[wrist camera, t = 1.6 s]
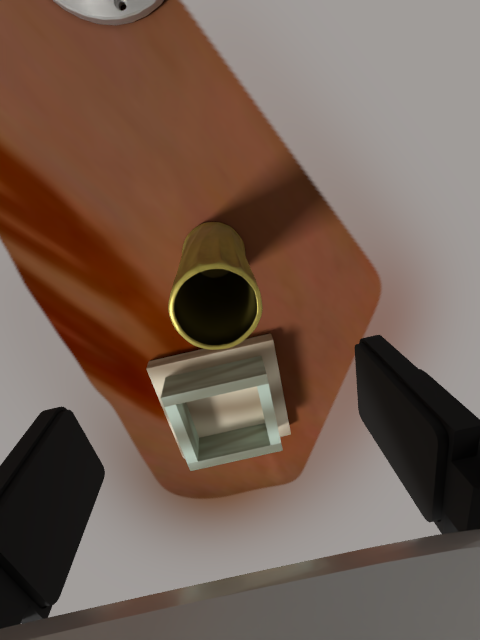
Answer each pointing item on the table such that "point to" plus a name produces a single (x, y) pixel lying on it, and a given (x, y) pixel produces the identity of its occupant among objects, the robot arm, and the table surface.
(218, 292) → the vase
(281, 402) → the vase stand
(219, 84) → the table surface
